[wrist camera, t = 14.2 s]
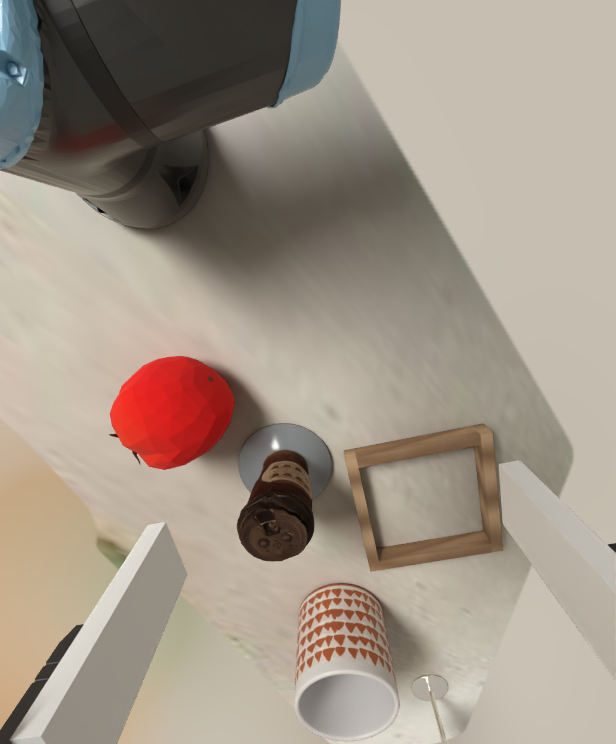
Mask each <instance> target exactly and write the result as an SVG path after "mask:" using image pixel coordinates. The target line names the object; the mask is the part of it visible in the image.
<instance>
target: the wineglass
mask: <svg viewBox="0 0 616 744" xmlns="http://www.w3.org/2000/svg"><path fill="white" fill-rule="evenodd" d="M411 690H412V693H413V695H414V696H415V697H416V698H418V699H420V700H423V701H431V704H432V707H433V711H434V715H435V718H436V722H437V726H438V730H439V734H440V738H441V742H440V744H450V743H449V742H448V741H447V739H446V737H445V733H444V730H443V726H442V723H441V719H440V715H439V712H438V708H437V704H436V700H438V699H440V698H442V697H443V696H444V695H445V694H446V693H447V691H448V685H447V683H446V681H445V680H444V679H443V678H441V677H439V676H435V675H425V676H422V677H419V678H418V679H416V680H415V681H414V682H413V684H412V687H411Z"/></svg>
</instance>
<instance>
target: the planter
mask: <svg viewBox="0 0 616 744" xmlns="http://www.w3.org/2000/svg"><path fill="white" fill-rule="evenodd" d="M399 707H400V702H399V695H398V690H397V685H396V680H395V674H394V669H393V664H392V659H391V653H390V648H389V643H388V638H387V633H386V627H385V622H384V617H383V612H382V608H381V606H380V604H379V602H378V601H377V599H376V598H375V597H374V596H373V595H372V594H371V593H369V592H368V591H366V590H365V589H363V588H361V587H358V586H355V585H350V584H331V585H326V586H323V587H321V588H318V589H317V590H315V591H313V592H312V593H311V594H309V595H308V596H307V597H306V598H305V600H304V601H303V603H302V605H301V607H300V610H299V620H298V639H297V658H296V678H295V697H294V708H295V712H296V715H297V717H298V719H299V720H300V722H301V723H302V724H303V725H304V726H305V727H306V728H307V729H308V730H310V731H311V732H313V733H315V734H317V735H319V736H321V737H324V738H327V739H330V740H336V741H357V740H363V739H367V738H370V737H373V736H375V735H377V734H379V733H381V732H383V731H384V730H385V729H387V728H388V727H389V726H390V725H391V724H392V723H393V722H394V720H395V719H396V717H397V715H398V712H399Z"/></svg>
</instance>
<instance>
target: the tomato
mask: <svg viewBox="0 0 616 744" xmlns="http://www.w3.org/2000/svg"><path fill="white" fill-rule="evenodd" d="M234 405H235V401H234V397H233V393H232V391H231V389H230V388H229V386H228V384H227V382H226V381H225V380H224V379H223V378H222V377H221V376H220V375H219V374H218V373H216V372H215V371H214V370H213V369H212V368H210V367H208V366H207V365H205V364H203V363H202V362H200V361H198V360H195V359H192V358H189V357H184V356H175V357H167V358H162V359H157V360H155V361H152V362H150V363H148V364H146V365H144V366H143V367H141V368H140V369H139V370H138V371H137V372H136V373H135V374H134V375H133V376H132V377H131V378H130V379H129V380H128V381H126V382H125V383H124V384H123V385H122V387H121V390H120V392H119V395H118V397H117V398H116V400H115V402H114V403H113V406H112V409H111V412H110V417H111V423H112V427H113V428H114V430H115V432H116V434H109V435H110V436H114V437H118V438H119V439H120V441H121V443H122V445H123V446H125V447H127V448H128V449H130V450H132V452H133V454H134V456H135V457H136V459H137V460H138V461H139V459H138V457H137V453H138V454H139V455H140V456H141V458H142V459H143V460H144V461H145V462H146V464H147V465H148V466H149V467H153V468H158V469H163V470H166V469H170V468H174V467H178V466H182V465H185V464H187V463H189V462H191V461H192V460H194V459H196V458H198V457H199V456H201V455H203V454H204V453H206V452H208V451H209V450H210V449H211V448H212V447H213V446H214V445H215V444H216V443H217V442H218V441H219V440H220V439H221V437H222V436H223V434H224V433H225V431H226V429H227V428H228V426H229V424H230V421H231V417H232V413H233V409H234ZM139 463H140V461H139Z"/></svg>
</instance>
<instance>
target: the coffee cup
mask: <svg viewBox="0 0 616 744" xmlns="http://www.w3.org/2000/svg"><path fill="white" fill-rule="evenodd" d="M308 475H309V471H308V465H307V462H306V460H305V459H304V458H303V457H302V456H301V455H300V454H298V453H297V452H295V451H291V450H279V451H274V452H273V453H271V454H269V455H267V456H266V458H265V461H264V463H263V469H262V471H261V474H260V476H259V479H258V480H257V481H256V483H255V485H254V487H253V489H252V492H251V495H250V498H249V501H248V503H247V505H246V506H245V507H244V508H243V509H242V511H241V513H240V516H239V519H238V523H237V531H238V534H239V539H240V541H241V544H242V545H243V546H244V548H245V549H246V550H247V551H248V552H249V553H250V554H251V555H253V556H254V557H256V558H258V559H261V560H264V561H283V560H285V559H288V558H290V557H293V556H296V555H298V554H299V553H301V552H302V551H303V550H304V549H305V547H306V545H307V544H308V543H309V541H310V540H311V538H312V536H313V533H314V516H313V512H312V493H311V482H310V479H309V476H308Z"/></svg>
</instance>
